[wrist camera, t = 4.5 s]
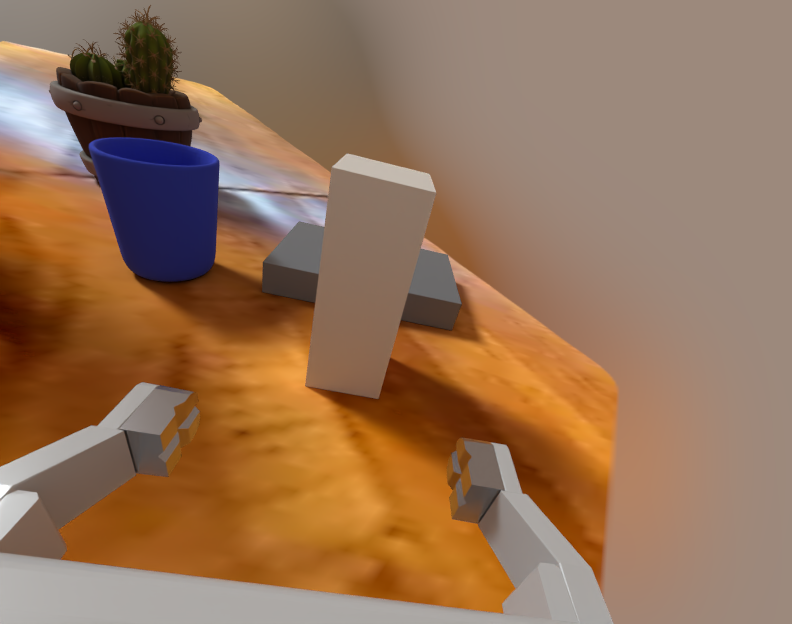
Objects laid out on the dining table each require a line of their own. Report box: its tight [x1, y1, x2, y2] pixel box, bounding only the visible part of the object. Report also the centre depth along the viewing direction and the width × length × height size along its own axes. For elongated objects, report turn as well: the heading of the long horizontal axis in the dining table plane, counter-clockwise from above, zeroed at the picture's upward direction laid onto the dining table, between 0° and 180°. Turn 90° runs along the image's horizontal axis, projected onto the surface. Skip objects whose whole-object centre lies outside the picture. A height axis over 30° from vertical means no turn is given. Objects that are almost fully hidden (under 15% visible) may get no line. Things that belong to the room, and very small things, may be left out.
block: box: [305, 154, 436, 399], centre depth 22 cm, size 5×5×14 cm
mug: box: [89, 138, 219, 282], centre depth 30 cm, size 8×12×10 cm
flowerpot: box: [49, 6, 202, 180], centre depth 43 cm, size 14×15×20 cm
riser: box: [262, 222, 462, 330], centre depth 37 cm, size 18×12×3 cm, turn 89°
